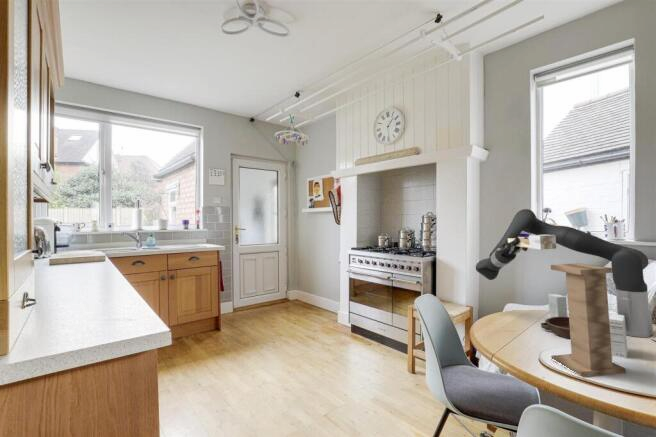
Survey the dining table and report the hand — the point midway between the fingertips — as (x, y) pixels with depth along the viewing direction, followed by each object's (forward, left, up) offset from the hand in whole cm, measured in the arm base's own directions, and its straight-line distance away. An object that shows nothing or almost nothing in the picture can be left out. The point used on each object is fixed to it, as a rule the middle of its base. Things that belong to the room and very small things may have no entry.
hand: (523, 239), depth 133 cm
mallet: (0, +3, -3) cm, 4 cm away
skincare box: (-22, -11, -40) cm, 47 cm away
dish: (-16, +4, -40) cm, 43 cm away
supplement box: (-15, +22, -40) cm, 47 cm away
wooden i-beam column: (+2, +30, -39) cm, 49 cm away
